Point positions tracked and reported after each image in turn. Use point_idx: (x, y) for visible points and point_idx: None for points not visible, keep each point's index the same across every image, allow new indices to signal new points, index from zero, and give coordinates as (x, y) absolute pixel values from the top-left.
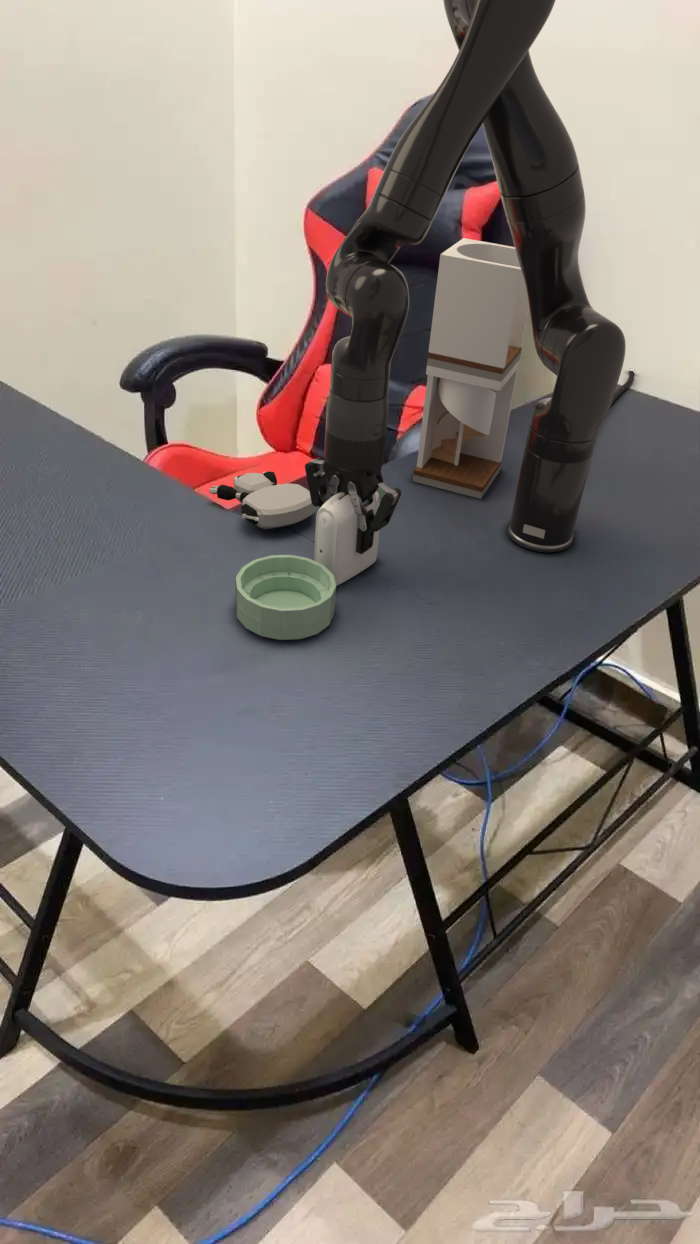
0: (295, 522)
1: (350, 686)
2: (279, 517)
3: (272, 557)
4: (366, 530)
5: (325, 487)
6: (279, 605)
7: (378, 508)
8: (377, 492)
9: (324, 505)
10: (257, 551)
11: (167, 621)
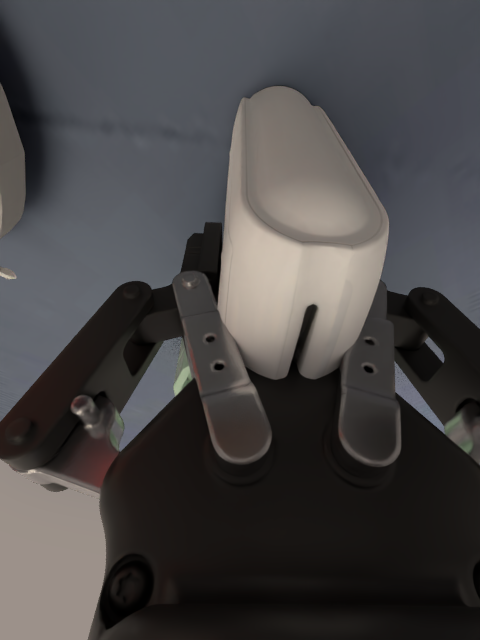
0: (23, 151)
1: (395, 383)
2: (10, 215)
3: (189, 372)
4: None
5: (129, 338)
6: None
7: (439, 416)
8: (376, 276)
9: None
10: (73, 254)
11: (160, 403)
